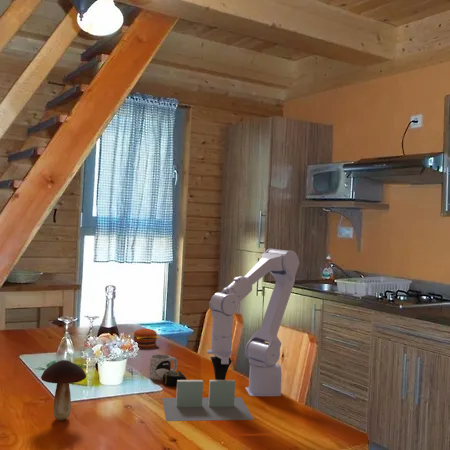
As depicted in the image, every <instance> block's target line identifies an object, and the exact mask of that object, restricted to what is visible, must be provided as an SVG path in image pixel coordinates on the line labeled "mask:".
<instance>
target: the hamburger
mask: <svg viewBox="0 0 450 450" xmlns="http://www.w3.org/2000/svg"><path fill="white" fill-rule="evenodd" d="M131 336H133V342H134V341H135V342H137V343H138V346H139V347H143V348H142V349H151V348H155V347H156V346H157V339H160V337H159V336H158V335H157V332H156V330H155V329H151V328H146V327H145V328H140V329H136V330H135V331H134V332H133V333H132V334H131ZM139 347H138V348H139ZM150 347H151V348H150Z"/></svg>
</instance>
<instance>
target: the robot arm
mask: <svg viewBox="0 0 450 450" xmlns="http://www.w3.org/2000/svg"><path fill="white" fill-rule="evenodd" d="M260 257H261V258H260V259H259V261H257V263H255V265H254V266H253V267H252V268H251V269H250V270H249V271H248V272H247V273H246V274H245V275H244V276H242V275H239V276H235V277H234V278H233V281H231V283H230V284H229V285H227V286H226V287H223V289H222V290H221V292H220V291H219V292H215V293H214V294H213V295H212V296H211V298H210V301H209V302H208V306H209V309H210V311H211V317H212V326H211V329H212V330H211V349H207V350H206V353H207V354H208V355H213V356H210V360H211V363H212V366H213V373H214V380H226V377H227V373H228V371H229V367H230V365H231V364H232V362H233V361H232V359H231V356H232V355H233V350H232V348H233V347H232V344H233V343H232V342H233V323H234V322H233V320H234V314H235V313H236V312H237V311H238V309H239V305H240V304H241V301H243V299H245V298H246V297H247V296H248V295H249V294H251V292H252V291H253V285H254V284H256V283H257V282H259V280H261V279H262V278H264V276H266V275H267V274H268V273H270V274H271V276H272V277H273V278H274V280H275V284H274V285H273V289H272V293H271V295H270V298H269V300H268V305H267V307H266V309H265V312H264V316H263V319H262V321H261V325H260V328H259V329H258V330H257V331H255V332H253V333H252V335H251V337H250V339H249V340H248V341H247V343H246V345H245V347H244V348H245V350H244V354H245V356H246V358H247V359H248V362H249V373H248V374H249V376H248V386H246V387H245V390H246V392H247V393H248V395H249V396H250V397H281V396H282V393H281V392H282V367H281V365H280V364H279V363H278V362H279V359H280V357H281V356H280V355H281V347H282V342H281V340H280V339H279V337H278V333H279V330H280V326H281V325H282V321H283V318H284V315H285V313H286V310H287V309H286V308H287V306H288V303H289V300H290V297H291V294H292V290H293V288H294V285H295V282H296V275H297V272H298V269H299V266H300V260H299V257H298V254H297V253H296V251H294V250H290V249H289V250H285V249H284V250H283V249H277V248H276V249H275V248H271V247H270V248H268V249H266V251H265V252H263V253H262V254H261V255H260Z"/></svg>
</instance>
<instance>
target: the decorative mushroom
mask: <svg viewBox="0 0 450 450" xmlns="http://www.w3.org/2000/svg"><path fill="white" fill-rule="evenodd" d="M86 378H87V373H86V372H85V370H84V369H83V368H82V367H81V366H79V365H78V364H76V363H75V362H72V361H69V360H66V359H65V360H58V361H57V362H54V363H52V364H51V365H50V366H48V367H47V368H45V370H44V371H43V373H42V374H41V376H40V380H41V381H43V382H45V383H49V384H50V383H51V384H56V386H55V387H56V388H55V392H54V398H53V409H52V412H53V417H54V419H55V420H58V421H65V420H67V419H68V418H69V417H70V416H71V410H72V397H71V395H72V394H71V390H70V389H71V388H70V384H73V383H80V382H83V380H85V379H86Z"/></svg>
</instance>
